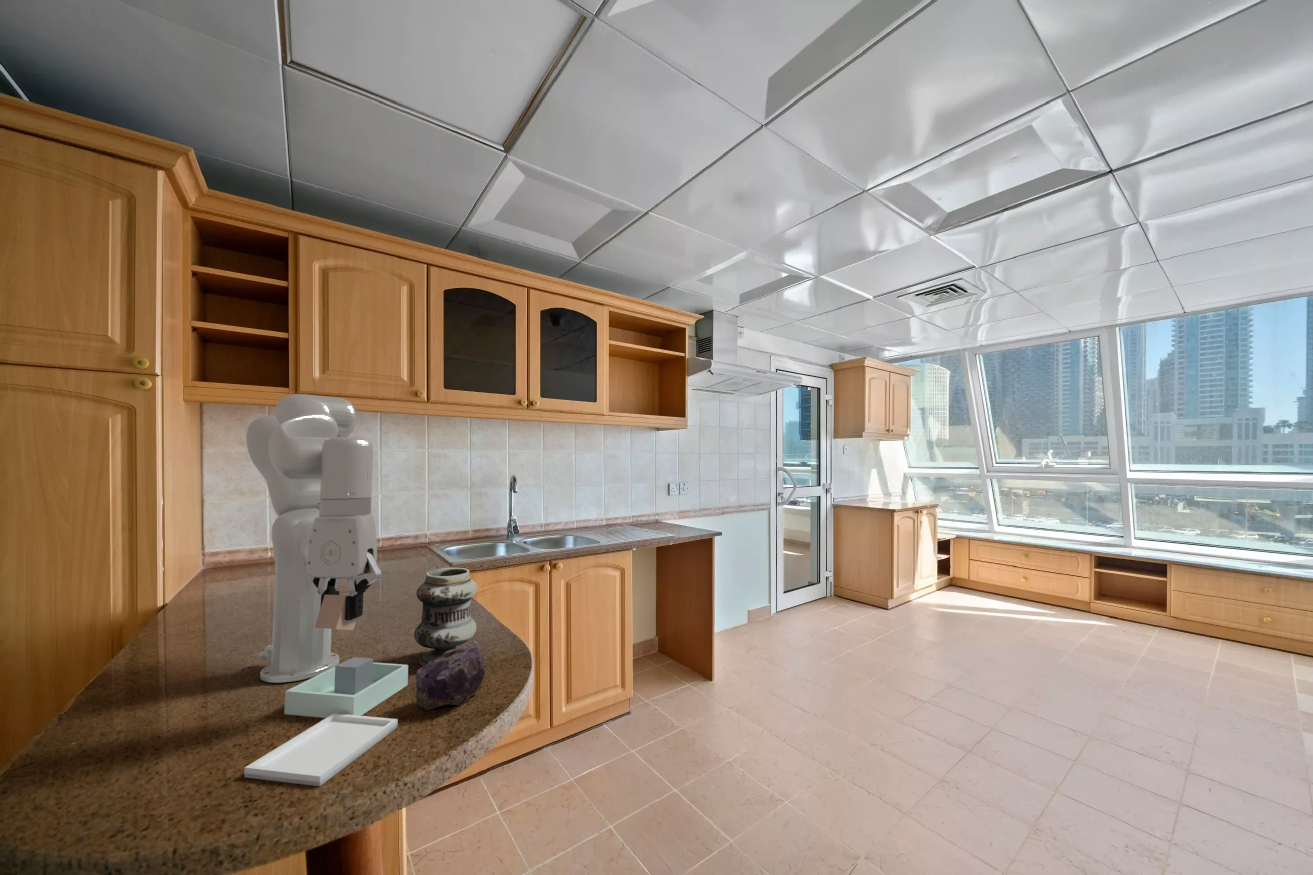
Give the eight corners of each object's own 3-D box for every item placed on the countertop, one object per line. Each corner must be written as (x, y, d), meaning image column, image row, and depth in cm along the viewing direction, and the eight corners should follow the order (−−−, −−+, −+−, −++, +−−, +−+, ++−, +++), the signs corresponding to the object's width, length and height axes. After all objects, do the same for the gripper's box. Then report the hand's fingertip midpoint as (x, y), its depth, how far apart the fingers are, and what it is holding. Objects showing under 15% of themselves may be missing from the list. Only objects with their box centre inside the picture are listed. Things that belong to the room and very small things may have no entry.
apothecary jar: (447, 673, 93) (449, 579, 95) (399, 665, 97) (402, 575, 98) (487, 651, 105) (489, 567, 106) (443, 644, 109) (445, 564, 110)
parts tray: (244, 777, 62) (244, 767, 62) (333, 721, 76) (333, 713, 76) (319, 786, 60) (320, 776, 60) (397, 727, 74) (397, 719, 74)
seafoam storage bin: (284, 713, 78) (285, 691, 78) (346, 680, 91) (347, 660, 91) (353, 720, 76) (354, 696, 76) (407, 684, 89) (408, 664, 89)
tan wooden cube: (314, 627, 79) (325, 594, 81) (332, 629, 82) (342, 597, 84) (335, 628, 78) (346, 595, 80) (353, 630, 82) (362, 598, 84)
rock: (411, 711, 82) (444, 728, 76) (404, 662, 81) (436, 675, 75) (473, 676, 91) (506, 688, 85) (467, 632, 91) (499, 641, 85)
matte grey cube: (334, 697, 83) (335, 666, 83) (352, 686, 86) (353, 657, 87) (354, 698, 82) (355, 667, 82) (372, 688, 86) (373, 658, 86)
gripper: (284, 510, 81) (278, 622, 79) (372, 511, 78) (368, 627, 77) (322, 506, 88) (317, 609, 87) (404, 507, 85) (401, 613, 84)
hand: (341, 616), depth 82 cm, fingers closed on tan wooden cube, 4 cm apart
